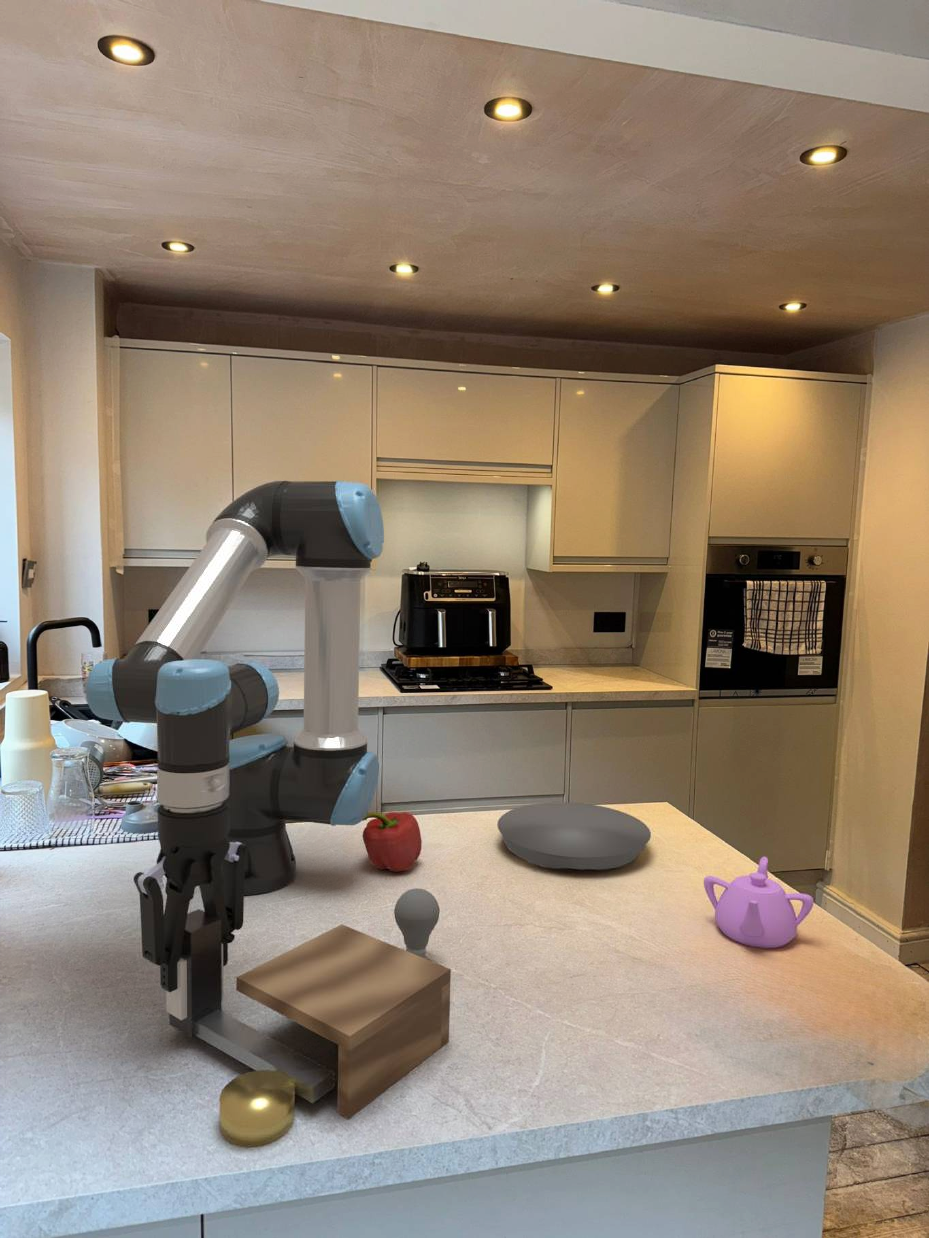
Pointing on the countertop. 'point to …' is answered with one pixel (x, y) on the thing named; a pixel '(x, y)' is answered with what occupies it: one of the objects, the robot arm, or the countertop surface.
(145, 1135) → the countertop surface
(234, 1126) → the ball
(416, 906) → the light bulb
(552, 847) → the flat disc
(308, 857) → the countertop surface
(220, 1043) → the l-shaped hook tool
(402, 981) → the shelf
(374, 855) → the vegetable
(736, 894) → the teapot
